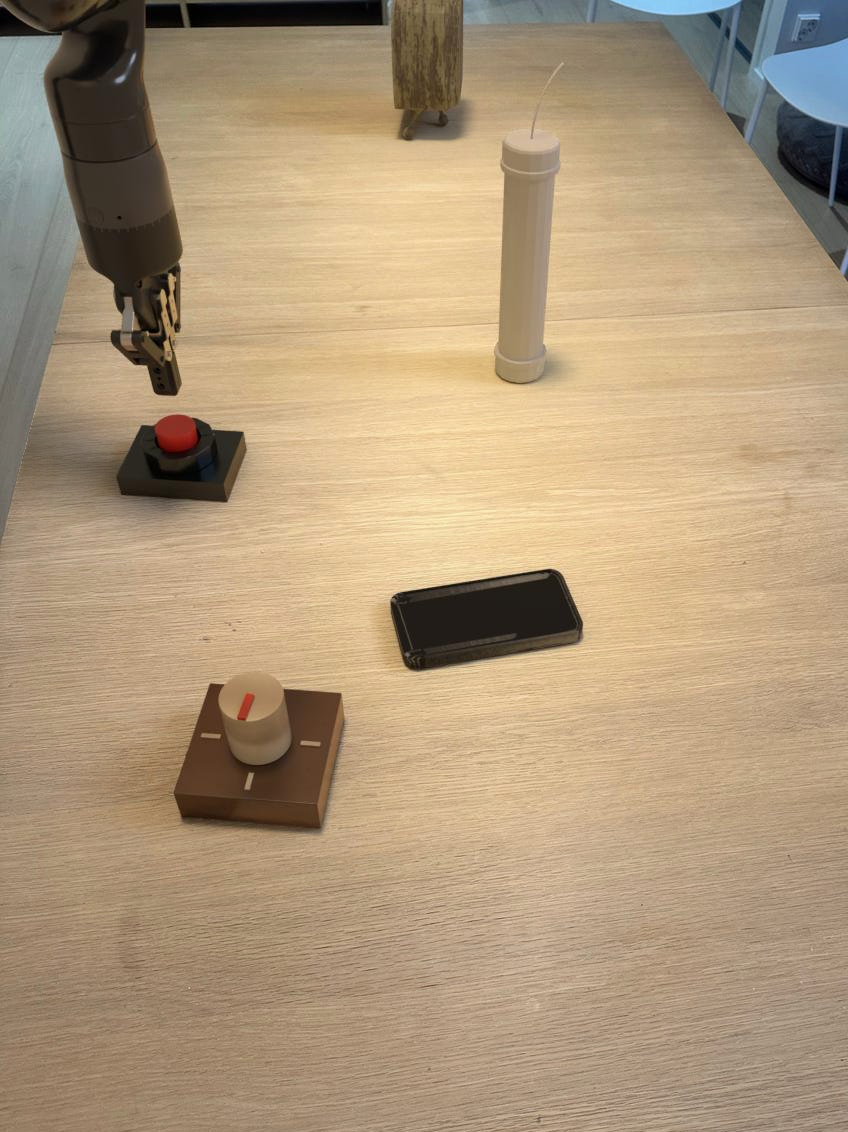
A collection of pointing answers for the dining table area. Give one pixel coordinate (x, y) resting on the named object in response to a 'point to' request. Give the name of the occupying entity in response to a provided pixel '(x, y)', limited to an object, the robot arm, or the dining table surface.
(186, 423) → the button
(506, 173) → the dynamite stick
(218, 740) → the panel
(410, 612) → the phone
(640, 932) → the dining table surface
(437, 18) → the tabletop clock
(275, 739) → the dial
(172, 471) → the button block
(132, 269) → the robot arm
